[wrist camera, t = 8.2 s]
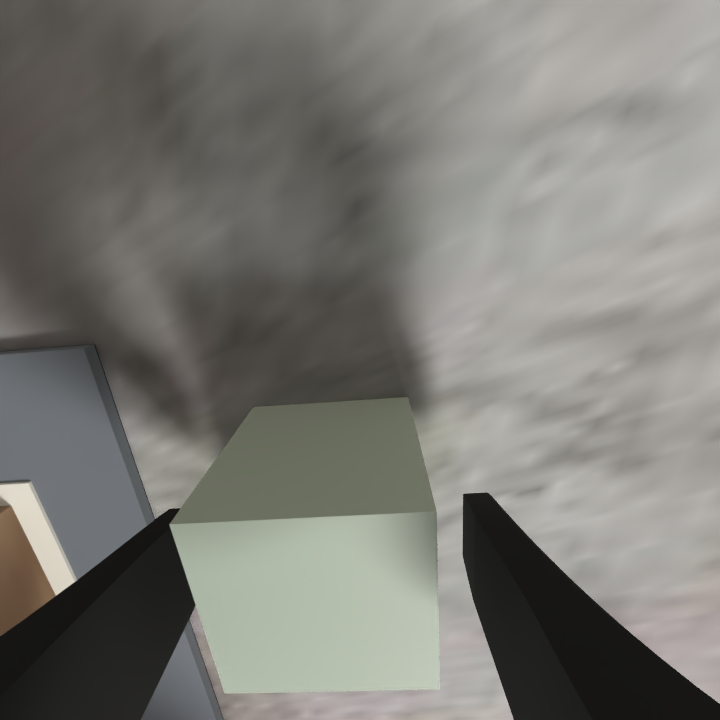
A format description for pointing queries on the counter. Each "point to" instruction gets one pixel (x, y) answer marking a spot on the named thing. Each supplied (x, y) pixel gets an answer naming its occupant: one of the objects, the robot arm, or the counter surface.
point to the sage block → (317, 551)
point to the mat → (82, 491)
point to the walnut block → (19, 574)
